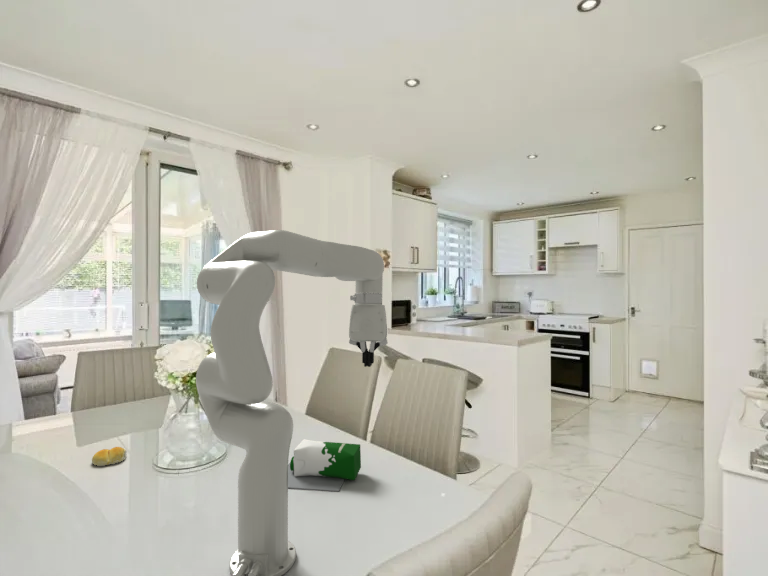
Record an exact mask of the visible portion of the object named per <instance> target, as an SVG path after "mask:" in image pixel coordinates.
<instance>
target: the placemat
mask: <svg viewBox="0 0 768 576" xmlns="http://www.w3.org/2000/svg"><path fill="white" fill-rule="evenodd" d="M344 481H345V479H342V478H333V477H322V476H294V471H291V470H290V463H289V462H288V489H291V490H293V489H294V490H304V491H305V490H306V491H307V490H308V491H310V490H311V491H322V492H323V491H324V492H340V490H341V489H342V486H343V484H344Z"/></svg>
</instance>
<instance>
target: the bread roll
mask: <svg viewBox="0 0 768 576" xmlns="http://www.w3.org/2000/svg"><path fill="white" fill-rule="evenodd" d="M126 458H127V450H126V449H125V448H124V447H122V446H114V447H113V448H111V449H107V448H103V449H101V450H98V451H97V452H95V453H94V455H93V456H92V458H91V463H92V465H93V464H94V465H93V466H96V465H97V467H105V465H107V466H109V465H110V464H113V465H116V464H115V463H117V464H119V463H122V462H124V461H125V460H126ZM123 460H124V461H123ZM121 461H122V462H121ZM118 462H119V463H118Z"/></svg>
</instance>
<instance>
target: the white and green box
mask: <svg viewBox="0 0 768 576" xmlns="http://www.w3.org/2000/svg"><path fill="white" fill-rule="evenodd" d="M361 453H362V452H361V444H359V443H358V444H357V443H347V442H336V441H335V442H331V441H320V440H319V441H318V440H310V439H306V438H303V440H301V442H300V443H299V444H297V446H296V447H295V448H294V449H293V456H292V457H291V459H290V470H291V471H294V476H322V477H333V478H342V479H344V480H351V481H355V480H356V478H357V476H358V474H359V472H360V470H361V468H362V465H361V463H362V462H361V461H362V459H361V457H362V455H361Z"/></svg>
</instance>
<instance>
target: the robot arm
mask: <svg viewBox="0 0 768 576" xmlns="http://www.w3.org/2000/svg"><path fill="white" fill-rule="evenodd" d="M274 271H279V272H287V273H292V274H299V275H305V276H310V277H315V278H316V277H317V278H319V277H320V278H336V280H339V281H342V282H355V293H354V294H353V295H350V299H349V300H350V301H352V302H354V304H352V305H351V310H350V318H349V325H348V326H349V328H348V329H349V330H348V338H349V340H348V343H349V345H353V346H356V347H357V348H359V350H360V352H361V354H362V355H361V357H362V358H361V359H362V360H361V361H362V362H361V363H362V364H363V366H364V367H365V368H366V367H368V368H370V367H371V366H373V364H374V361H375V351H376V350H377V349H378V348H379V347H382V346H387V345H388V343H389V342H388V337H387V336H388V326H387V325H388V324H387V311H386V307H385V306H386V305H384V304H383V280H384V279H383V275H384V274H383V273H384V271H385V261H384V258H383V257H382V256H381V254H379V252H377V251H376V250H373V249H369V248H367V247H363V246H357V245H353V244H352V245H351V244H344V243H340V242H339V243H338V242H333V241H327V240H326V241H324V240H321V239H317V238H313V237H309V236H306V235H302V234H298V233H295V232H292V231H288V230H283V229H271V230H261V231H253V232H249V233H247V234H245V235H243V236H241V237H239V239H237V240H235V241H234V242H232V244H230V245H229V246H228V247H226V248H225V249H224V250H223V251H222V252H220V253H219V254H217V255H216V256H215V257H214V258H213V259H211V260H210V261H208V262H207V263H206V264H205V265H204V266H203V267H202V268H201V269H200V271H199V273H198V275H197V278H196V288H197V289H196V290H197V292H198V294H199V296H200V297H201V298H202V299H204V300H205V301H206V302H207V303H210V304H213V305H217V306H218V305H219V306H218V307H217V310H216V311H215V313H214V316H213V319H212V322H211V326H210V340H211V344H212V348H213V352H210V353H209V354H207V355H206V356H205V357H204V358H203V359H202V361H200V364H198V368H197V371H196V374H195V384H196V389H197V394H198V397H199V399H200V403H201V405H202V408H203V410H204V413H205V416H206V418H207V422H208V424H209V426H210V429H211V431H212V432H213V434H214V435H215V437H216V438H217V439H218V440H219V441H222V442H223V443H226V444H229V445H231V446H236V447H237V448H241V449H243V450H245V452H246V453H245V457H244V459H243V462H242V463H241V466H240V468H239V471H238V476H237V497H238V498H237V513H238V514H237V550H235V552H234V553H233V554H232V555H231V557H230V559H229V572H230V574H231V576H283V575H285V574H286V573H287V572H288V571H289V570H291V568H292V567H293V566H294V565H295V561H296V558H297V557H296V555H297V554H296V547H295V545H294V544H293V543H292V541H290V540H289V488H288V465H289V459H290V458H289V455H290V449H291V448H290V447H291V442H292V439H293V432H294V420H293V417H292V415H291V413H290V412H289V411H288V410H287V408H285V407H283V406H282V405H279V404H277V403H274V402H270V401H266V400H267V399H268V398H269V396H270V395H271V393H272V391H273V386H274V385H273V382H274V381H273V376H272V375H273V374H272V371H271V368H270V365H269V361H268V358H267V354H266V351H265V347H264V343H263V341H262V337H261V332H260V331H261V330H260V321H261V317H262V314H263V312H264V309H265V307H266V305H267V304H268V302H269V300H270V299H271V297H272V295H273V293H274V290H275V288H276V287H275V286H276V276H275V272H274ZM367 342H370V343H369V349H368V347H367V346H368V345H367ZM364 367H363V368H364Z"/></svg>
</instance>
